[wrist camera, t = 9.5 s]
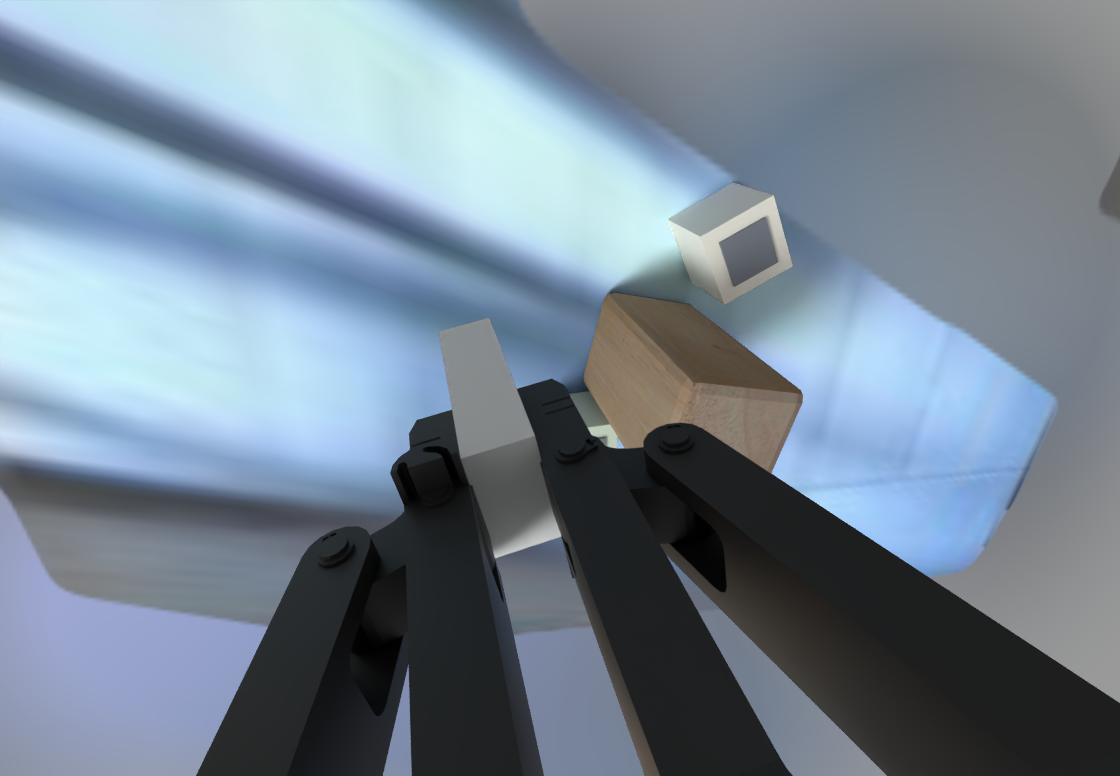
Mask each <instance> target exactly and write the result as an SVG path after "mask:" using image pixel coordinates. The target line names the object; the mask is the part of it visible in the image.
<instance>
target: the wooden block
mask: <svg viewBox="0 0 1120 776" xmlns="http://www.w3.org/2000/svg"><path fill="white" fill-rule="evenodd" d="M584 383H585V384H586V386H587V388H588V389H589V391H590V393H591V394H592V396H593V397H594V399H595V401H596V402H597V404H598V405H599V407H600V409H601V410H602V412H603V414H604V415H605V417H606V418H607V420H608V422H609V423H610V425H611V426H612V428H613V430H614V431H615V433H616V435H617V436H618V438H619V439H620V441H621V443H622V444H623V446H624V447H625V448H639V447H643V441H644V439H645V438H646V436H647V434H648V433H650V432H651V431H652V430H654V429H655V428H657V427H660V426H663V425H666V424H671V423H688V424H693V425H696V426H698V427H700V428H703V429H704V430H706V431H707V432H709V433H710V434H712V435H713V436H715V437H716V438H718V439H719V440H721V441H722V442H724V443H725V444H727V445H729V446H730V447H732V448H733V449H735V450H736V451H738V452H739V453H741V454H742V455H744V456H745V457H747V458H748V459H750V460H751V461H753V462H754V463H756V464H757V465H759V466H760V467H762V468H763V469H765V470H766V471H768V472H770V473H772V470H773V468H774V466H775V464H776V461H777V459H778V457H779V455H780V452H781V450H782V448H783V446H784V443H785V441H786V439H787V437H788V434H789V432H790V430H791V427H792V425H793V423H794V421H795V418H796V416H797V414H798V412H799V409H800V407H801V405H802V400H803V394H802V392H801V390H800V389H798V388H797V387H796V386H795V385H793V384H792V383H791V382H789V381H788V380H787V379H786V378H784V377H783V376H782V375H780V374H779V373H778V372H777V371H775V370H774V369H773V368H771V367H770V366H769V365H767V364H766V363H765V362H764V361H762V360H761V359H760V358H758V357H757V356H756V355H755V354H753V353H752V352H751V351H749V350H748V349H747V348H746V347H744V346H743V345H742V344H740V343H739V342H738V341H737V340H735V339H734V338H733V337H731V336H730V335H729V334H727V333H726V332H725V331H724V330H722V329H721V328H720V327H718V326H717V325H716V324H715V323H713V322H712V321H711V320H709V319H708V318H707V317H706V316H704V315H703V314H702V313H700V312H699V311H698V310H697V309H695V308H694V307H692V306H691V305H690V304H684V303H678V302H671V301H665V300H658V299H652V298H646V297H639V296H633V295H627V294H620V293H612V294H607V295H606V297H605V299H604V301H603V305H602V309H601V312H600V316H599V320H598V324H597V327H596V331H595V335H594V339H593V342H592V346H591V350H590V354H589V357H588V361H587V365H586V369H585V372H584Z"/></svg>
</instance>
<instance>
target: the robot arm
mask: <svg viewBox="0 0 1120 776" xmlns="http://www.w3.org/2000/svg"><path fill="white" fill-rule="evenodd" d="M439 337H440V343H441V349H442V354H443V360H444V366H445V372H446V377H447V383H448V389H449V395H450V400H451V406H452V410H450V411H446V412H443V413H439V414H436V415H433V416H429V417H426V418H423V419H419V420H417V421H416V423H415V424H414V426H413V428H412V430H411V431H410V433H409V440H410V450H409V451H408V452H406V453H405V454H403V455H402V456H400V457H399V458H398V460H397V461H396V462H395V463H394V464H393V466H392V469H391V473H390V474H391V476H392V478H393V481H394V483H395V485H396V488H397V490H398V492H399V495H400V497H401V499H402V502H403V504H404V512H403V514H402V515H401V516H400V517H398V518H397V519H396V520H395V521H394V522H392V523H391V524H389V525H388V526H386V527H384V528H383V529H381V530H379V531H377V532H375V533H374V534H372V535H369V534H368V532H367V530H365V529H363V528H360V527H343V528H340V529H336V530H333V531H331V532H329V533H327V534H326V535H324V536H322V537H320V538H319V539H318V540H317V541H315V542H314V543H313V544H312V545H311V546H310V547H309V548H308V549H307V551H306V552H305V554H304V555H303V556H302V558H301V560H300V562H299V564H298V566H297V569H296V571H295V573H294V575H293V577H292V579H291V581H290V583H289V585H288V587H287V589H286V591H285V593H284V595H283V597H282V599H281V602H280V604H279V606H278V608H277V610H276V612H275V614H274V616H273V618H272V620H271V622H270V624H269V626H268V628H267V630H266V633H265V635H264V637H263V639H262V641H261V643H260V645H259V647H258V649H257V651H256V653H255V655H254V657H253V660H252V662H251V664H250V666H249V668H248V670H247V672H246V674H245V676H244V678H243V680H242V682H241V684H240V686H239V689H238V691H237V692H236V694H235V697H234V699H233V701H232V703H231V705H230V707H229V709H228V711H227V713H226V715H225V717H224V719H223V721H222V723H221V725H220V727H219V730H218V732H217V734H216V736H215V738H214V740H213V742H212V744H211V746H210V748H209V751H208V752H207V754H206V756H205V758H204V761H203V763H202V765H201V767H200V769H199V771H198V773H197V775H196V776H383V772H384V767H385V763H386V758H387V754H388V750H389V746H390V741H391V737H392V732H393V728H394V724H395V720H396V715H397V711H398V707H399V703H400V698H401V694H402V689H403V685H404V681H405V676H406V672H407V668H408V664H409V688H410V690H409V691H410V725H411V760H412V776H544V774H543V769H542V764H541V760H540V756H539V751H538V746H537V741H536V737H535V732H534V727H533V723H532V718H531V714H530V709H529V705H528V700H527V695H526V691H525V686H524V681H523V677H522V672H521V668H520V663H519V659H518V654H517V649H516V645H515V640H514V635H513V631H512V626H511V621H510V617H509V612H508V608H507V603H506V598H505V594H504V589H503V585H502V580H501V575H500V573H499V570H498V567H497V564H496V561H495V558H497V557H500V556H503V555H506V554H509V553H513V552H516V551H519V550H522V549H525V548H528V547H531V546H534V545H537V544H540V543H543V542H546V541H549V540H552V539H555V538H558V537H561V536H562V540H563V544H564V548H565V552H566V555H567V559H568V563H569V567H570V570H571V574H572V578H575V580H576V583H577V586H578V589H579V591H580V594H581V597H582V600H583V603H584V606H585V608H586V611H587V614H588V617H589V620H590V622H591V625H592V628H593V631H594V634H595V636H596V639H597V642H598V645H599V648H600V650H601V653H602V656H603V659H604V662H605V665H606V668H607V670H608V673H609V676H610V679H611V681H612V684H613V687H614V690H615V692H616V696H617V698H618V701H619V704H620V707H621V710H622V712H623V715H624V718H625V721H626V724H627V727H628V729H629V732H630V735H631V738H632V741H633V743H634V746H635V749H636V752H637V755H638V758H639V760H640V763H641V766H642V769H643V772H644V775H645V776H792V774H791V773H790V772H789V771H788V770H787V768H786V767H785V765H784V764H783V762H782V760H781V759H780V757H779V755H778V753H777V752H776V750H775V748H774V746H773V744H772V743H771V741H770V739H769V738H768V736H767V734H766V732H765V730H764V729H763V727H762V725H761V723H760V721H759V720H758V718H757V716H756V714H755V713H754V711H753V709H752V707H751V705H750V703H749V702H748V700H747V698H746V696H745V695H744V693H743V691H742V689H741V688H740V686H739V684H738V682H737V680H736V679H735V677H734V675H733V673H732V671H731V670H730V668H729V666H728V664H727V663H726V661H725V659H724V657H723V655H722V654H721V652H720V650H719V648H718V647H717V645H716V643H715V641H714V639H713V638H712V636H711V634H710V632H709V631H708V629H707V627H706V625H705V623H704V622H703V620H702V618H701V616H700V615H699V613H698V611H697V609H696V607H695V606H694V604H693V602H692V600H691V598H690V597H689V595H688V593H687V591H686V590H685V588H684V586H683V584H682V582H681V581H680V579H679V577H678V575H677V574H676V572H675V570H674V568H673V566H672V565H671V563H670V561H669V559H668V558H667V556H668V557H669V558H670V559H671V560H672V561H673V562H674V563H675V564H676V565H677V566H678V567H679V568H680V569H681V570H682V571H683V572H684V573H685V574H686V575H687V576H688V577H689V578H690V579H691V580H692V581H693V582H694V583H695V584H696V585H697V586H698V587H699V588H700V589H701V590H702V591H703V592H704V593H705V594H706V595H707V596H708V597H709V598H710V599H711V600H712V601H713V602H714V603H715V604H716V605H717V606H718V607H719V608H720V609H721V610H722V611H723V612H724V613H725V614H726V615H727V616H728V617H729V618H730V619H731V620H732V621H733V622H734V623H735V624H736V625H737V626H738V627H739V628H740V629H741V630H742V631H743V632H744V633H745V634H746V635H747V636H748V637H749V638H750V639H751V640H752V641H753V642H754V643H755V644H756V645H757V646H758V647H759V648H760V649H761V650H762V651H763V652H764V653H765V654H766V655H767V656H768V657H769V658H770V659H771V660H772V661H773V662H774V663H775V664H776V665H777V666H778V667H779V668H780V669H781V670H782V671H783V672H784V673H785V674H786V675H787V676H788V677H789V678H790V679H791V680H792V681H793V682H794V683H795V684H796V685H797V686H798V687H799V688H800V689H801V690H802V691H803V692H804V693H805V694H806V695H807V696H808V697H809V698H810V699H811V700H812V701H813V702H814V703H815V704H816V705H817V706H818V707H819V708H820V709H821V710H822V711H823V712H824V713H825V714H826V715H827V716H828V717H829V718H830V719H831V720H832V721H833V722H834V723H835V724H836V725H837V726H838V727H839V728H840V729H841V730H842V731H843V732H844V733H845V734H846V735H847V736H848V737H849V738H850V739H851V740H852V741H853V742H854V743H855V744H856V745H857V746H858V747H859V748H860V749H861V750H862V751H863V752H864V753H865V754H866V755H867V756H868V757H869V758H870V759H871V760H872V761H873V762H874V763H875V764H876V765H877V766H878V767H879V768H880V769H881V770H882V771H883V772H884V773H885V774H886V775H887V776H1120V703H1119V702H1117V701H1116V700H1114V699H1113V698H1111V697H1110V696H1108V695H1106V694H1105V693H1104V692H1102V691H1101V690H1099V689H1097V688H1096V687H1094V686H1093V685H1091V684H1090V683H1088V682H1087V681H1085V680H1084V679H1082V678H1081V677H1079V676H1078V675H1076V674H1075V673H1073V672H1072V671H1070V670H1069V669H1067V668H1066V667H1064V666H1063V665H1061V664H1059V663H1058V662H1056V661H1055V660H1053V659H1052V658H1050V657H1049V656H1047V655H1046V654H1044V653H1043V652H1041V651H1040V650H1038V649H1037V648H1035V647H1034V646H1032V645H1031V644H1029V643H1027V642H1026V641H1025V640H1023V639H1022V638H1020V637H1019V636H1017V635H1015V634H1014V633H1012V632H1011V631H1009V630H1008V629H1006V628H1005V627H1003V626H1001V625H1000V624H999V623H997V622H996V621H994V620H993V619H991V618H990V617H988V616H986V615H985V614H984V613H982V612H981V611H979V610H977V609H976V608H974V607H973V606H971V605H970V604H968V603H967V602H965V601H964V600H962V599H961V598H959V597H958V596H956V595H955V594H953V593H951V592H950V591H949V590H947V589H945V588H944V587H942V586H941V585H939V584H938V583H936V582H935V581H933V580H932V579H930V578H929V577H927V576H926V575H924V574H923V573H921V572H920V571H918V570H917V569H915V568H914V567H912V566H911V565H909V564H908V563H906V562H905V561H903V560H902V559H900V558H899V557H897V556H896V555H894V554H892V553H891V552H889V551H888V550H886V549H885V548H883V547H882V546H880V545H879V544H877V543H876V542H874V541H873V540H871V539H870V538H868V537H867V536H865V535H864V534H862V533H861V532H859V531H858V530H856V529H855V528H853V527H852V526H850V525H848V524H847V523H845V522H844V521H842V520H841V519H839V518H838V517H836V516H835V515H833V514H832V513H830V512H829V511H827V510H826V509H824V508H823V507H821V506H820V505H818V504H817V503H815V502H814V501H812V500H811V499H809V498H807V497H806V496H804V495H803V494H801V493H800V492H798V491H797V490H795V489H794V488H792V487H791V486H789V485H788V484H786V483H785V482H783V481H782V480H780V479H779V478H777V477H776V476H774V475H773V474H771V473H770V472H768V471H766V470H765V469H763V468H762V467H760V466H759V465H757V464H756V463H754V462H753V461H751V460H750V459H748V458H747V457H745V456H744V455H742V454H741V453H739V452H738V451H736V450H735V449H733V448H732V447H730V446H729V445H727V444H725V443H724V442H722V441H721V440H719V439H718V438H716V437H715V436H713V435H712V434H710V433H709V432H707V431H706V430H704V429H703V428H700V427H698V426H696V425H693V424H688V423H671V424H666V425H663V426H660V427H657V428H655V429H654V430H652V431H651V432H650V433H648V434H647V436H646V438H645V439H644V441H643V447H639V448H625V449H618V448H611V447H607V446H605V445H604V444H603V442H602V441H601V440H600V439H599V438H598V437H595V436H593V435H591V433H590V431H589V429H588V428H587V426H586V424H585V422H584V420H583V418H582V417H581V415H580V413H579V411H578V409H577V407H575V404H574V402H573V400H572V398H571V397H570V395H569V393H568V391H567V389H566V387H565V386H564V385H563V384H561V383H559V382H557V381H555V380H553V379H549V380H546V381H542V382H539V383H536V384H532V385H529V386H525V387H522V388H519V389H516V386H515V383H514V381H513V378H512V376H511V373H510V371H509V368H508V366H507V363H506V360H505V358H504V355H503V353H502V350H501V348H500V345H499V342H498V340H497V337H496V335H495V332H494V330H493V327H492V325H491V322H490V319H489V318H487V319H483V320H479V321H476V322H472V323H469V324H465V325H462V326H458V327H454V328H451V329H447V330H444V331H440V332H439ZM666 555H667V556H666ZM494 556H495V558H494Z"/></svg>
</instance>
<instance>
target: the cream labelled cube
mask: <svg viewBox="0 0 1120 776" xmlns="http://www.w3.org/2000/svg"><path fill="white" fill-rule="evenodd" d="M668 222H669V225H670V228H671V230H672V233H673V235H674V238H675V241H676V243H677V246H678V249H679V251H680V254H681V257H682V259H683V262H684V264H685V267H686V270H687V272H688V275H689V278H690V280H691V282H692V283H693V284H695V285H696V286H698V287H699V288H700V289H702V290H703V291H705V292H706V293H708V294H709V295H711V296H712V297H713V298H715V299H716V300H718V301H719V302H721V303H722V304H724V305H726V304H727V303H729V302H731V301H733V300H734V299H736V298H738V297H740V296H742V295H743V294H745V293H747V292H749V291H750V290H752V289H754V288H756V287H757V286H759V285H761V284H763V283H765V282H766V281H768V280H770V279H772V278H773V277H775V276H777V275H779V274H780V273H782V272H784V271H786V270H788V269H789V268H791V267H793V265H792V261H791V257H790V254H789V250H788V246H787V243H786V239H785V235H784V231H783V228H782V224H781V220H780V217H779V213H778V209H777V206H776V202H775V198H774V195H772V194H768V193H765V192H762V191H759V190H756V189H753V188H749V187H746V186H743V185H740V184H737V183H734V182H733V183H731V184H729V185H727V186H726V187H724V188H722V189H720V190H719V191H717V192H715V193H713V194H712V195H710V196H708V197H706V198H704V199H703V200H701V201H699V202H697V203H696V204H694V205H692V206H690V207H689V208H687V209H685V210H683V211H682V212H680V213H678V214H676V215H675V216H673V217H671V218H669V219H668Z"/></svg>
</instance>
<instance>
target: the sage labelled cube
mask: <svg viewBox="0 0 1120 776" xmlns="http://www.w3.org/2000/svg"><path fill="white" fill-rule="evenodd" d="M569 395H570V397H571V398H572V400H573V402H574V404H575V407H577V409H578V411H579V413H580V415H581V417H582V418H583V420H584V422H585V424H586V426H587V428H588V429H589V431H590V433H591V435H593V436H595V437H598V438H599V439H600V440H601V441H602V442H603V444H604V445H605V446H607V447H611V448H617V438H618V436H617V435H616V433H615V431H614V430H613V428H612V426H611V425H610V423H609V422H608V420H607V418H606V417H605V415H604V414H603V412H602V410H601V409H600V407H599V405H598V404H597V402H596V401H595V399H594V397H593V396H592V394H591V393H590V391H585V392H578V393H571V394H569Z"/></svg>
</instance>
